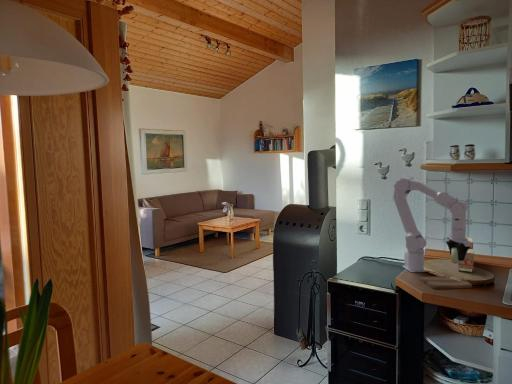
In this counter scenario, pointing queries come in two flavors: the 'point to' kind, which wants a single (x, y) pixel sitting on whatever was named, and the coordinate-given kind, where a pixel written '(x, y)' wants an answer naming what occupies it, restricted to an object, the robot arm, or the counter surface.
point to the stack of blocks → (468, 257)
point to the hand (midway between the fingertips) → (457, 258)
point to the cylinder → (455, 256)
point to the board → (444, 282)
